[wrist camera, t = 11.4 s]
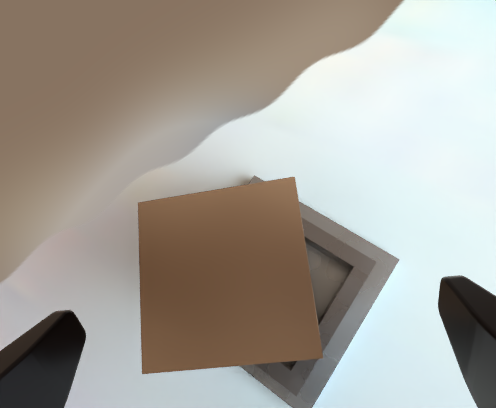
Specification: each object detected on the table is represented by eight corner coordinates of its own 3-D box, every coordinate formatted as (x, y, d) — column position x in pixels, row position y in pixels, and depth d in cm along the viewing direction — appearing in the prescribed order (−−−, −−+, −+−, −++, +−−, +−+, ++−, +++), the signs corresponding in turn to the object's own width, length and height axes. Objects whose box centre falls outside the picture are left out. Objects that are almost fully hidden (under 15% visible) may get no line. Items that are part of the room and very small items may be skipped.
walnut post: (316, 316, 19) (323, 358, 7) (248, 324, 20) (141, 374, 8) (306, 247, 20) (294, 177, 8) (241, 256, 21) (138, 202, 9)
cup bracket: (306, 410, 19) (304, 437, 16) (173, 307, 22) (147, 309, 19) (394, 261, 20) (411, 254, 17) (257, 181, 23) (247, 161, 20)
